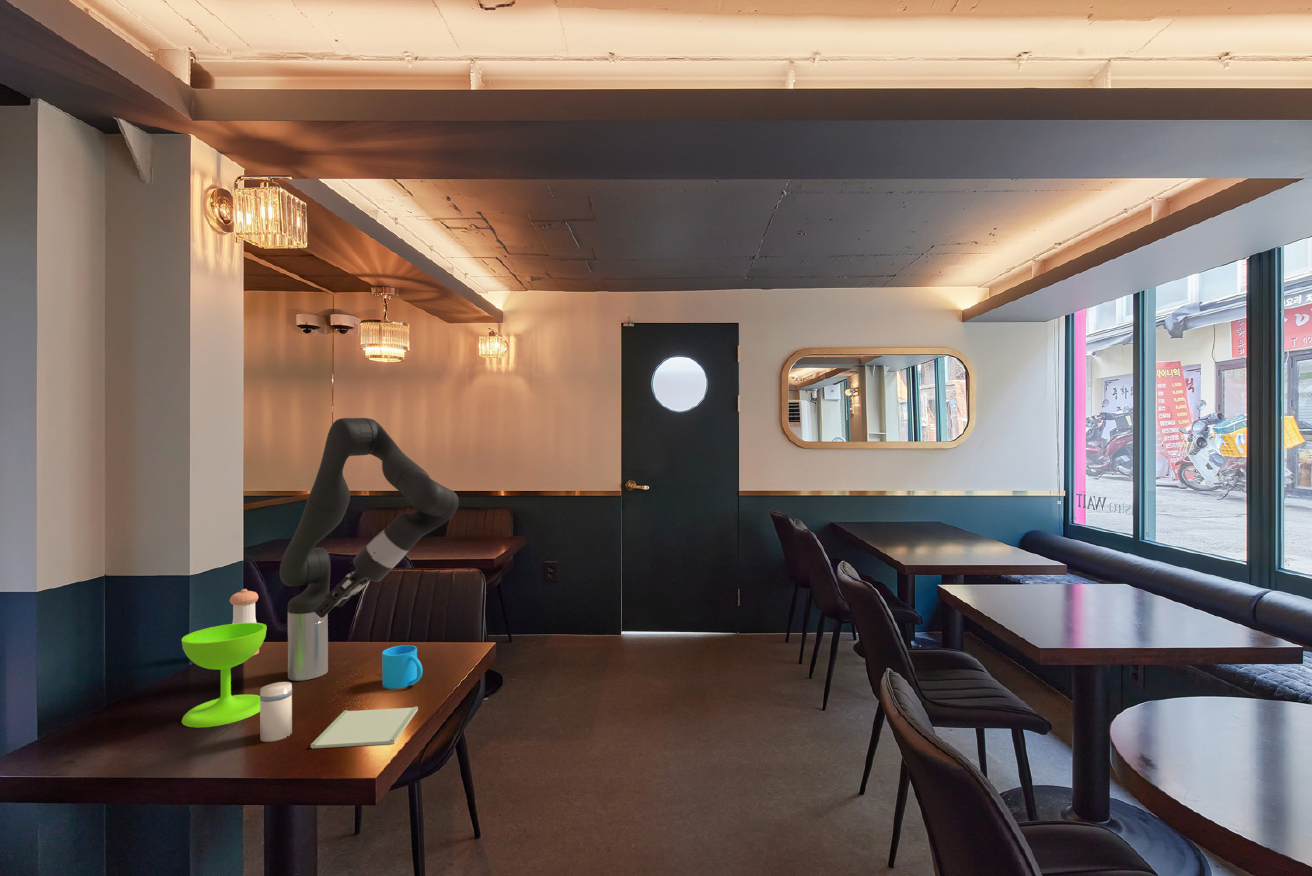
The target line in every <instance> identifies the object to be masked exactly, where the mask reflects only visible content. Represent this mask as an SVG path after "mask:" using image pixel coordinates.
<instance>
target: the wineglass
mask: <svg viewBox="0 0 1312 876" xmlns="http://www.w3.org/2000/svg"><path fill="white" fill-rule="evenodd" d="M267 629H268V628H267V624H265V623H261V622H257V623H236V624H232V623H229V624H221V625H217V626H211V627H207V628H202V629H200V630H196V631H193V632H190V633H188V634H186V635H184V636H182V638H181V645H182V650H183V652H184V653H185V656H186V657H187V658H188V659H189V660H191V662H192V663H194V664H195V665H196V666H198V667H200V668H204V669H206V670H207V669H208V670H220V696H219V698H216V699H211V700H209V701H205V702H203V703H201V704H198V705H196V706H194V707H193V708H191V709H190V710H188V711H187V712H186V713H184V715H183V716H182V719H181V724H182V725H183V726H185V727H188V728H195V729H196V728H197V729H199V728H211V727H219V726H223V725H228V724H233V723H236V722H240V721H242V720H245V719H247V718H251V717H252V716H254V715H256V714H258V713H260V695H258V694H233V695H232V684H231V682H232V674H231V672H232V671H231V669H232V668H234V667H237V666H239V665H241V664H243V663H245V662H246V661H248V660H250V658H252V657H253V655H254V654H255V653H256V652H257V650H258V649H259V650H260V648H261V647H262V645H263V643H264V640H265V639H266V637H267V636H266V635H267ZM254 656H255V655H254Z"/></svg>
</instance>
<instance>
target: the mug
mask: <svg viewBox="0 0 1312 876" xmlns="http://www.w3.org/2000/svg"><path fill="white" fill-rule="evenodd" d="M381 655H382V656H381V660H382V661H381V665H382V667H381V669H382V671H381V672H382V679H381V680H382V682H381V683H382V684H381V685H383V686H382V688H385V689H390V690H393V689H394V690H395V689H402V688H407V687H409V686H412V685H414V684H416V683H418V682H419V681H420V680H421V679H422V676H423V673H424V672H423V671H424V670H423V665H422V663H421V661H420V660H419V658H418V648H417V646H415V645H406V644H405V645H403V644H402V645H397V646H392V647H388V648H387V649H384V650H383V651H382V653H381Z"/></svg>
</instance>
